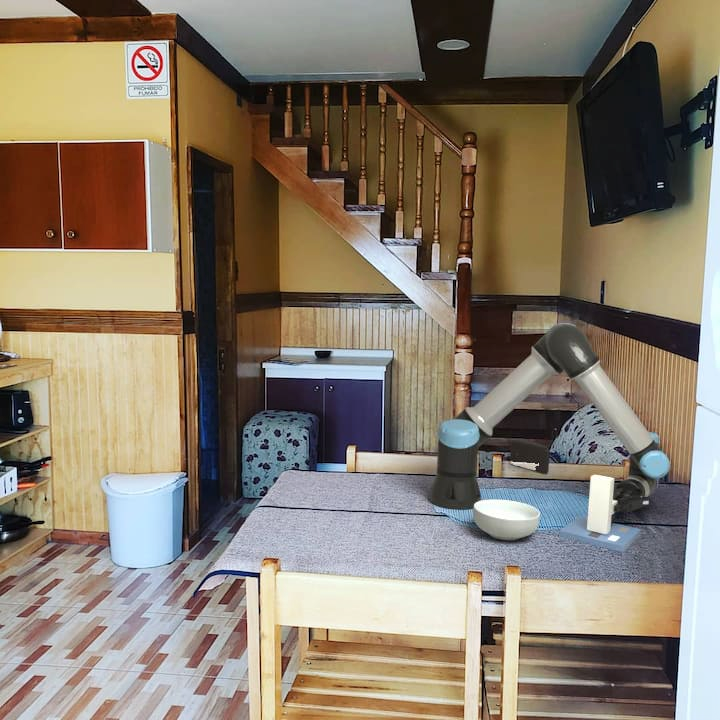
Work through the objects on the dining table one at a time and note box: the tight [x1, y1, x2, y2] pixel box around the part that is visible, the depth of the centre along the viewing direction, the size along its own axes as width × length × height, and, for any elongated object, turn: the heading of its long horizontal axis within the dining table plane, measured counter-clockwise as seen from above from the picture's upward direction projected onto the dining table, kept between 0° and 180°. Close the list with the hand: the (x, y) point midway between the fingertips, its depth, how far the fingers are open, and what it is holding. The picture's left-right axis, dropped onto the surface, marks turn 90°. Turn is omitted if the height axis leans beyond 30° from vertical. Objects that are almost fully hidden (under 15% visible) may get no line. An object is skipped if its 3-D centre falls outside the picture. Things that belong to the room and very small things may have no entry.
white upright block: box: [587, 474, 615, 535], centre depth 174 cm, size 3×5×14 cm, turn 53°
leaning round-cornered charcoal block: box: [509, 439, 550, 475], centre depth 242 cm, size 16×5×9 cm, turn 39°
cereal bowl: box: [472, 499, 541, 541], centre depth 174 cm, size 17×17×7 cm
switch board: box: [558, 515, 642, 553], centre depth 177 cm, size 16×16×2 cm
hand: (606, 511), depth 175 cm, fingers closed
